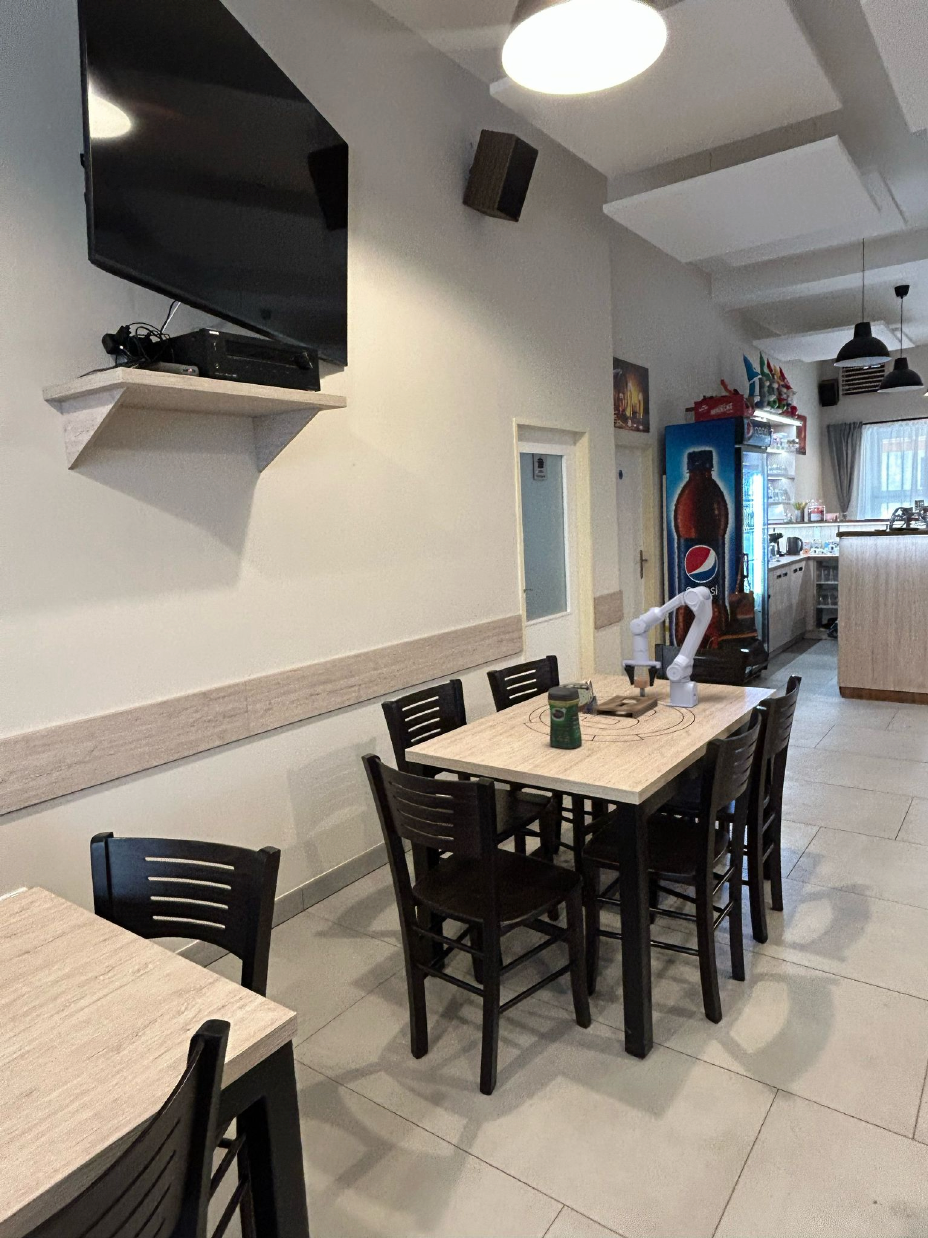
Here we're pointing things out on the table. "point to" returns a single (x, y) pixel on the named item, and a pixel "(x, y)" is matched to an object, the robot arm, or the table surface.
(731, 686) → the table surface
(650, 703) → the keyhole plate
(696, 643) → the robot arm
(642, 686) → the key peg
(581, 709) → the food container
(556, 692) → the coffee jar
